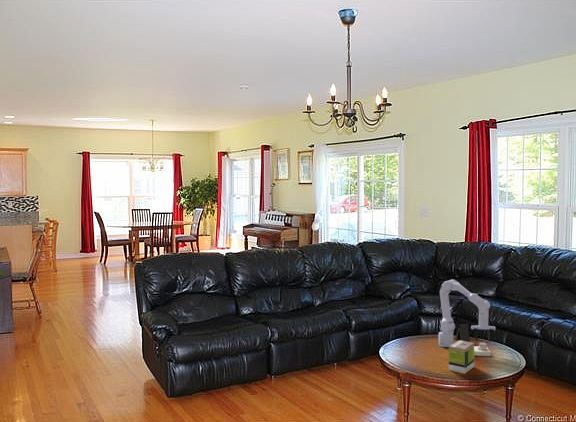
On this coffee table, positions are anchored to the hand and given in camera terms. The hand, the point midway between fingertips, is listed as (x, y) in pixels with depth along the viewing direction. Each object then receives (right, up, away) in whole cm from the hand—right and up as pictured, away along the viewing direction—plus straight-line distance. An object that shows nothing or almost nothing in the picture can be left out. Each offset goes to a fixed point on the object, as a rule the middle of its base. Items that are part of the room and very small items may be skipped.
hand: (482, 340), depth 343 cm
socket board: (-4, -8, +1) cm, 9 cm away
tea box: (-22, -10, -27) cm, 37 cm away
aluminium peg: (0, -8, +1) cm, 8 cm away
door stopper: (-5, -7, +25) cm, 26 cm away
